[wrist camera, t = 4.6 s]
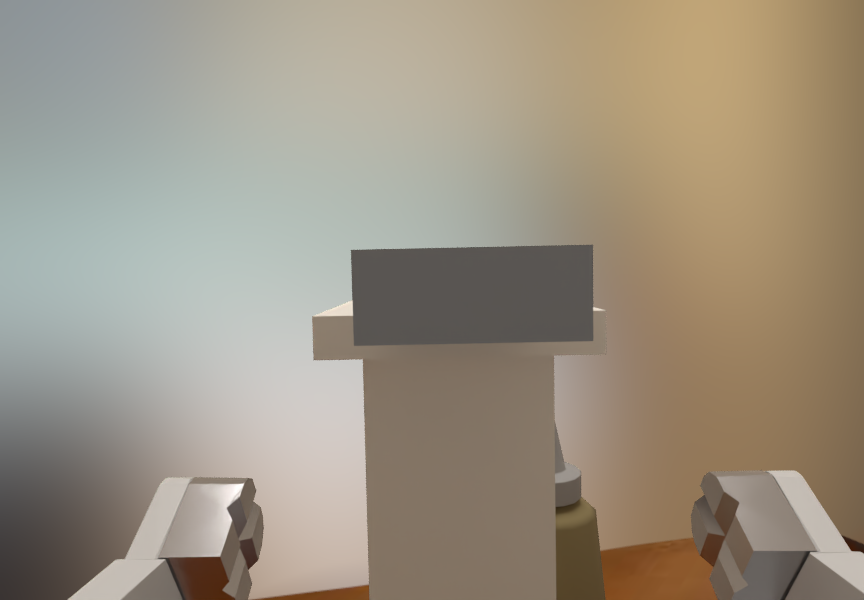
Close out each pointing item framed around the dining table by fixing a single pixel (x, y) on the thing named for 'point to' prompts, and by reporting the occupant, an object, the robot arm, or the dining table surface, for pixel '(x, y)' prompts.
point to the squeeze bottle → (575, 536)
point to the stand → (458, 462)
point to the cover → (472, 295)
